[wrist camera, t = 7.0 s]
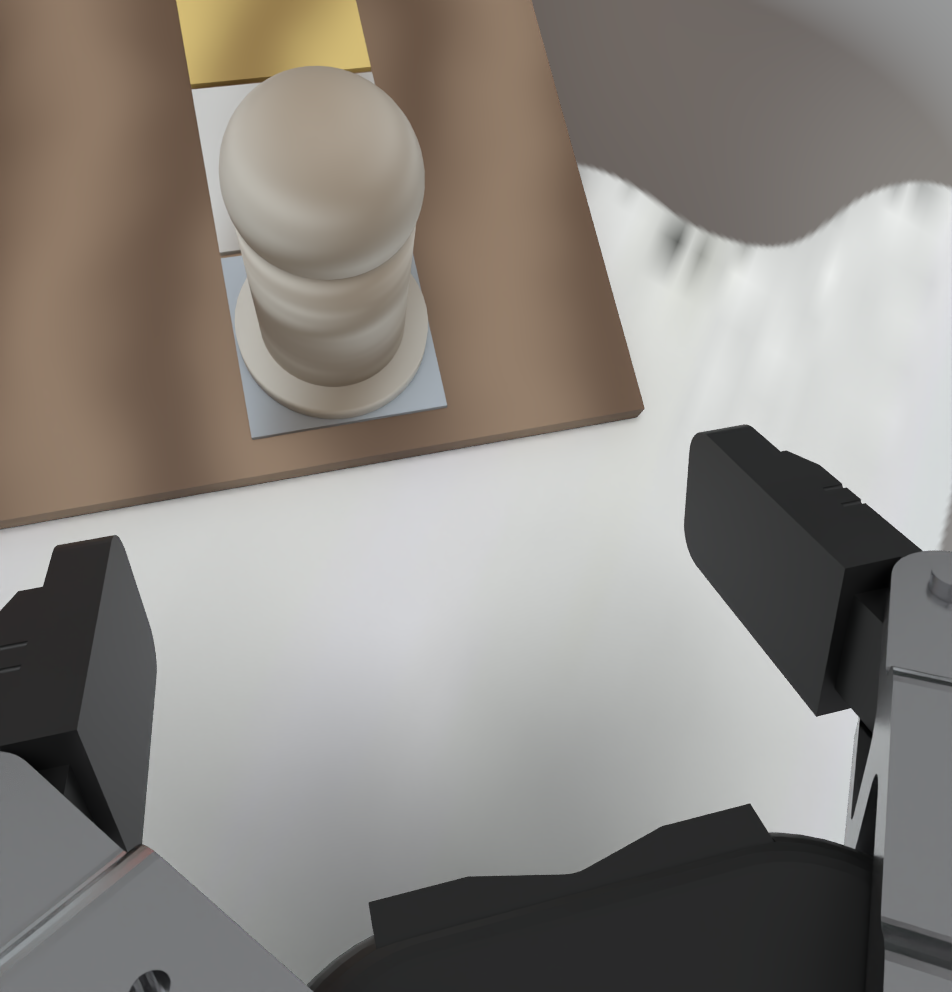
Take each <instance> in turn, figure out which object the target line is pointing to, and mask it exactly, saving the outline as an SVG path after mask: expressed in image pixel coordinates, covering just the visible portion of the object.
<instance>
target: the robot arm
mask: <svg viewBox="0 0 952 992" xmlns="http://www.w3.org/2000/svg"><path fill="white" fill-rule="evenodd" d="M684 531H685V538H686V543H687V547H688V550H689V553H690V555H691V557H692V559H693V561H694V563H695V564H696V566H697V567H698V568H699V570H700V571H701V572H702V573H703V575H704V576H705V577H706V578H707V580H708V581H709V582H710V583H711V585H712V586H713V587H714V588H715V590H716V591H717V592H718V593H719V595H720V596H721V597H722V598H723V600H724V601H725V602H726V604H727V605H728V606H729V607H730V609H731V610H732V611H733V612H734V614H735V615H736V616H737V617H738V619H739V620H740V621H741V622H742V624H743V625H744V626H745V627H746V629H747V630H748V631H749V632H750V634H751V635H752V636H753V638H754V639H755V640H756V641H757V643H758V644H759V645H760V646H761V648H762V649H763V650H764V651H765V653H766V654H767V655H768V656H769V658H770V659H771V660H772V661H773V663H774V664H775V665H776V666H777V668H778V669H779V670H780V671H781V673H782V674H783V675H784V677H785V678H786V679H787V680H788V682H789V683H790V684H791V685H792V687H793V688H794V689H795V690H796V692H797V693H798V694H799V695H800V697H801V698H802V699H803V700H804V702H805V703H806V704H807V705H808V707H809V708H810V709H811V710H812V712H813V713H814V714H815V716H816V717H817V716H821V715H825V714H829V713H833V712H837V711H841V710H845V709H849V708H852V710H853V711H854V712H855V713H856V714H857V715H858V717H859V719H858V723H857V727H856V732H855V736H854V745H853V756H852V766H851V776H850V787H849V797H848V808H847V818H846V829H845V839H844V845H842V844H838V843H835V842H831V841H828V840H825V839H820V838H815V837H809V836H804V835H798V834H787V833H768V831H767V830H766V828H765V826H764V825H763V823H762V822H761V820H760V819H759V817H758V815H757V814H756V812H755V811H754V809H753V808H752V806H751V804H746V805H742V806H739V807H735V808H731V809H727V810H723V811H719V812H715V813H712V814H708V815H704V816H700V817H696V818H692V819H688V820H685V821H681V822H677V823H673V824H669V825H665V826H662V827H660V828H658V829H656V830H654V831H653V832H651V833H649V834H647V835H645V836H644V837H642V838H640V839H638V840H637V841H635V842H633V843H631V844H629V845H628V846H626V847H624V848H622V849H620V850H619V851H617V852H615V853H613V854H611V855H610V856H608V857H606V858H604V859H602V860H601V861H599V862H597V863H595V864H593V865H592V866H590V867H588V868H586V869H584V870H582V871H580V872H577V873H573V874H565V875H521V876H476V877H465V878H461V879H457V880H453V881H449V882H446V883H442V884H438V885H434V886H430V887H426V888H422V889H419V890H415V891H411V892H407V893H403V894H399V895H395V896H392V897H388V898H384V899H380V900H376V901H372V902H369V908H370V914H371V920H372V926H373V933H374V935H373V936H371V937H369V938H367V939H366V940H364V941H362V942H360V943H358V944H357V945H355V946H353V947H352V948H351V949H349V950H348V951H346V952H345V953H343V954H342V955H341V956H339V957H338V958H336V959H335V960H334V961H332V962H331V963H330V964H329V965H328V966H327V967H326V968H325V969H323V970H322V971H321V972H320V973H319V974H318V975H317V976H315V977H314V978H313V979H312V980H311V981H310V982H309V983H308V984H307V985H305V984H304V983H303V982H302V981H301V980H300V979H299V978H298V977H296V976H295V975H294V974H293V973H292V972H291V971H290V970H288V969H287V968H286V967H285V966H284V965H283V964H282V963H281V962H279V961H278V960H277V959H276V958H275V957H274V956H273V955H272V954H270V953H269V952H268V951H267V950H266V949H265V948H264V947H262V946H261V945H260V944H259V943H258V942H257V941H256V940H255V939H253V938H252V937H251V936H250V935H249V934H248V933H247V932H246V931H244V930H243V929H242V928H241V927H240V926H239V925H238V924H236V923H235V922H234V921H233V920H232V919H231V918H230V917H229V916H227V915H226V914H225V913H224V912H223V911H222V910H221V909H220V908H218V907H217V906H216V905H215V904H214V903H213V902H212V901H210V900H209V899H208V898H207V897H206V896H205V895H204V894H203V893H201V892H200V891H199V890H198V889H197V888H196V887H195V886H194V885H192V884H191V883H190V882H189V881H188V880H187V879H186V878H185V877H183V876H182V875H181V874H180V873H179V872H178V871H177V870H175V869H174V868H173V867H172V866H171V865H170V864H169V863H168V862H166V861H165V860H164V859H163V858H162V857H161V856H160V855H158V854H157V853H156V852H155V851H153V850H152V849H150V848H149V847H147V846H145V845H142V837H143V825H144V814H145V802H146V791H147V779H148V767H149V756H150V744H151V733H152V721H153V709H154V698H155V686H156V674H157V665H156V653H155V646H154V641H153V636H152V632H151V628H150V625H149V622H148V619H147V615H146V612H145V609H144V606H143V603H142V600H141V597H140V594H139V591H138V588H137V585H136V582H135V579H134V576H133V573H132V570H131V566H130V563H129V560H128V557H127V554H126V551H125V548H124V546H123V544H122V542H121V540H120V538H119V537H118V536H117V535H113V536H107V537H102V538H96V539H91V540H85V541H79V542H74V543H68V544H62V545H57V546H56V547H55V548H54V550H53V553H52V557H51V560H50V564H49V567H48V571H47V574H46V578H45V582H44V585H43V587H39V588H34V589H29V590H23V591H18V592H17V593H16V594H15V595H14V597H13V598H12V599H11V600H10V601H9V602H8V603H7V604H6V605H5V606H4V607H3V609H2V610H1V611H0V992H952V552H950V551H922V550H921V549H920V548H918V547H917V546H916V545H915V544H914V543H912V542H911V541H910V540H909V539H908V538H906V537H905V536H904V535H903V534H902V533H900V532H899V531H898V530H897V529H896V528H894V527H893V526H892V525H891V524H890V523H888V522H887V521H886V520H885V519H884V518H882V517H881V516H880V515H879V514H878V513H877V512H875V511H874V510H873V509H872V508H871V507H869V506H868V505H867V504H866V503H865V504H862V503H861V499H860V498H859V497H857V496H856V495H855V494H854V493H853V492H851V491H850V490H849V489H848V488H843V487H842V483H841V482H839V481H838V480H837V479H836V478H835V477H833V476H832V475H831V474H830V473H829V472H827V471H826V470H825V469H824V468H823V467H821V466H820V465H818V464H816V463H814V462H812V461H809V460H807V459H805V458H802V457H800V456H798V455H795V454H793V453H791V452H788V451H782V452H780V451H779V450H778V449H777V448H776V447H775V446H773V445H772V444H771V443H770V442H769V441H768V440H767V439H765V438H764V437H763V436H762V435H761V434H760V433H758V432H757V431H756V430H755V429H754V428H753V427H751V426H749V425H739V426H734V427H728V428H722V429H717V430H711V431H705V432H700V433H697V434H696V435H695V436H694V437H693V439H692V441H691V445H690V451H689V465H688V478H687V492H686V505H685V519H684Z"/></svg>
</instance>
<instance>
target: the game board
mask: <svg viewBox="0 0 952 992" xmlns="http://www.w3.org/2000/svg"><path fill="white" fill-rule="evenodd" d="M304 66H328V67H334V68H339V69H343V70H346V71H350V72H352V73H355V74H357V75H359V76H361V77H363V78H365V79H367V80H369V81H370V82H372V83H373V84H375V85H376V86H377V87H379V88H380V89H382V90H383V91H384V92H385V93H386V94H387V95H388V96H390V97H391V98H392V99H393V101H394V102H395V103H396V104H397V105H398V107H399V108H400V109H401V110H402V112H403V113H404V114H405V116H406V117H407V119H408V121H409V122H410V124H411V126H412V128H413V131H414V133H415V135H416V137H417V139H418V142H419V145H420V149H421V152H422V157H423V163H424V169H425V190H424V197H423V203H422V207H421V210H420V214H419V217H418V220H417V222H416V229H415V238H414V247H413V256H412V264H411V274H412V276H413V277H414V279H415V280H416V282H417V284H418V285H419V288H420V290H421V292H422V294H423V297H424V300H425V304H426V308H427V315H428V333H427V340H426V346H425V351H424V355H423V358H422V362H421V364H420V366H419V369H418V371H417V373H416V374H415V376H414V378H413V379H412V381H411V382H410V384H409V385H408V386H407V387H406V388H405V389H404V391H403V392H402V393H400V394H399V395H398V396H397V397H396V398H395V399H394V400H392V401H391V402H389V403H388V404H386V405H385V406H383V407H381V408H379V409H377V410H375V411H373V412H370V413H367V414H365V415H361V416H357V417H353V418H346V419H322V418H315V417H310V416H307V415H303V414H300V413H297V412H295V411H293V410H290V409H288V408H286V407H285V406H283V405H281V404H279V403H278V402H276V401H275V400H274V399H272V398H271V397H270V396H268V395H267V394H266V393H265V392H264V391H263V390H262V389H261V388H260V387H259V386H258V384H257V383H256V382H255V380H254V379H253V378H252V376H251V374H250V373H249V371H248V369H247V368H246V365H245V363H244V360H243V358H242V355H241V352H240V349H239V345H238V341H237V337H236V333H235V308H236V303H237V299H238V296H239V293H240V290H241V288H242V286H243V284H244V282H245V280H246V278H247V274H246V270H245V266H244V262H243V258H242V254H241V250H240V246H239V242H238V238H237V234H236V230H235V226H234V224H233V222H232V221H231V218H230V216H229V214H228V211H227V209H226V206H225V203H224V201H223V197H222V193H221V188H220V180H219V155H220V148H221V143H222V139H223V136H224V133H225V130H226V127H227V125H228V122H229V120H230V118H231V116H232V115H233V113H234V111H235V110H236V108H237V107H238V105H239V104H240V103H241V102H242V100H243V99H244V98H245V96H247V95H248V94H249V93H250V92H251V91H252V90H253V89H254V88H255V87H257V86H258V85H259V84H261V83H262V82H264V81H265V80H266V79H268V78H270V77H272V76H274V75H276V74H278V73H281V72H283V71H286V70H289V69H293V68H298V67H304ZM644 409H645V408H644V405H643V401H642V397H641V394H640V390H639V387H638V383H637V379H636V376H635V372H634V369H633V365H632V361H631V358H630V354H629V350H628V347H627V343H626V340H625V336H624V332H623V329H622V325H621V322H620V318H619V314H618V311H617V307H616V304H615V300H614V296H613V293H612V289H611V286H610V282H609V278H608V275H607V271H606V268H605V264H604V260H603V257H602V253H601V249H600V246H599V242H598V239H597V235H596V231H595V228H594V224H593V221H592V217H591V213H590V210H589V206H588V203H587V199H586V195H585V192H584V188H583V185H582V181H581V177H580V174H579V170H578V167H577V163H576V159H575V156H574V152H573V148H572V145H571V141H570V138H569V134H568V130H567V127H566V123H565V120H564V116H563V112H562V109H561V105H560V102H559V98H558V95H557V91H556V87H555V84H554V80H553V76H552V73H551V69H550V66H549V62H548V58H547V55H546V51H545V47H544V44H543V40H542V37H541V33H540V30H539V26H538V22H537V19H536V15H535V11H534V8H533V4H532V1H531V0H0V529H3V528H9V527H15V526H20V525H26V524H32V523H38V522H43V521H49V520H55V519H60V518H66V517H72V516H77V515H83V514H89V513H94V512H100V511H106V510H111V509H117V508H123V507H129V506H134V505H140V504H146V503H151V502H157V501H163V500H168V499H174V498H180V497H185V496H191V495H197V494H202V493H208V492H214V491H220V490H225V489H231V488H237V487H242V486H248V485H254V484H259V483H265V482H271V481H276V480H282V479H288V478H293V477H299V476H305V475H310V474H316V473H322V472H328V471H333V470H339V469H345V468H350V467H356V466H362V465H367V464H373V463H379V462H384V461H390V460H396V459H401V458H407V457H413V456H419V455H424V454H430V453H436V452H441V451H447V450H453V449H458V448H464V447H470V446H475V445H481V444H487V443H492V442H498V441H504V440H510V439H515V438H521V437H527V436H532V435H538V434H544V433H549V432H555V431H561V430H566V429H572V428H578V427H583V426H589V425H595V424H601V423H606V422H612V421H618V420H623V419H629V418H635V417H637V416H638V415H639V414H640V413H641V412H642V411H643V410H644Z"/></svg>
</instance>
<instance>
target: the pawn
mask: <svg viewBox="0 0 952 992" xmlns="http://www.w3.org/2000/svg"><path fill="white" fill-rule="evenodd" d="M219 180H220V188H221V193H222V197H223V201H224V203H225V206H226V209H227V211H228V214H229V216H230V218H231V221H232V222H233V224H234V226H235V230H236V234H237V238H238V242H239V246H240V250H241V254H242V258H243V262H244V266H245V270H246V274H247V278H246V280H245V282H244V284H243V286H242V288H241V290H240V293H239V296H238V299H237V303H236V308H235V333H236V337H237V341H238V345H239V349H240V352H241V355H242V358H243V360H244V363H245V365H246V368H247V369H248V371H249V373H250V374H251V376H252V378H253V379H254V380H255V382H256V383H257V384H258V386H259V387H260V388H261V389H262V390H263V391H264V392H265V393H266V394H267V395H268V396H270V397H271V398H272V399H274V400H275V401H276V402H278V403H279V404H281V405H283V406H285V407H286V408H288V409H290V410H293V411H295V412H297V413H300V414H303V415H307V416H310V417H315V418H322V419H346V418H353V417H357V416H361V415H365V414H367V413H370V412H373V411H375V410H377V409H379V408H381V407H383V406H385V405H386V404H388V403H389V402H391V401H392V400H394V399H395V398H396V397H397V396H398V395H399V394H400V393H402V392H403V391H404V389H405V388H406V387H407V386H408V385H409V384H410V382H411V381H412V379H413V378H414V376H415V374H416V373H417V371H418V369H419V366H420V364H421V362H422V358H423V355H424V351H425V346H426V340H427V333H428V315H427V308H426V304H425V300H424V297H423V294H422V292H421V290H420V288H419V285H418V284H417V282H416V280H415V279H414V277H413V276H412V274H411V264H412V256H413V247H414V238H415V229H416V222H417V220H418V217H419V214H420V210H421V207H422V203H423V197H424V190H425V169H424V163H423V157H422V152H421V149H420V145H419V142H418V139H417V137H416V135H415V133H414V131H413V128H412V126H411V124H410V122H409V121H408V119H407V117H406V116H405V114H404V113H403V112H402V110H401V109H400V108H399V107H398V105H397V104H396V103H395V102H394V101H393V99H392V98H391V97H390V96H388V95H387V94H386V93H385V92H384V91H383V90H382V89H380V88H379V87H377V86H376V85H375V84H373V83H372V82H370V81H369V80H367V79H365V78H363V77H361V76H359V75H357V74H355V73H352V72H350V71H346V70H343V69H339V68H334V67H328V66H304V67H298V68H293V69H289V70H286V71H283V72H281V73H278V74H276V75H274V76H272V77H270V78H268V79H266V80H265V81H264V82H262V83H261V84H259V85H258V86H257V87H255V88H254V89H253V90H252V91H251V92H250V93H249V94H248V95H247V96H245V98H244V99H243V100H242V102H241V103H240V104H239V105H238V107H237V108H236V110H235V111H234V113H233V115H232V116H231V118H230V120H229V122H228V125H227V127H226V130H225V133H224V136H223V139H222V143H221V148H220V155H219Z"/></svg>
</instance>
